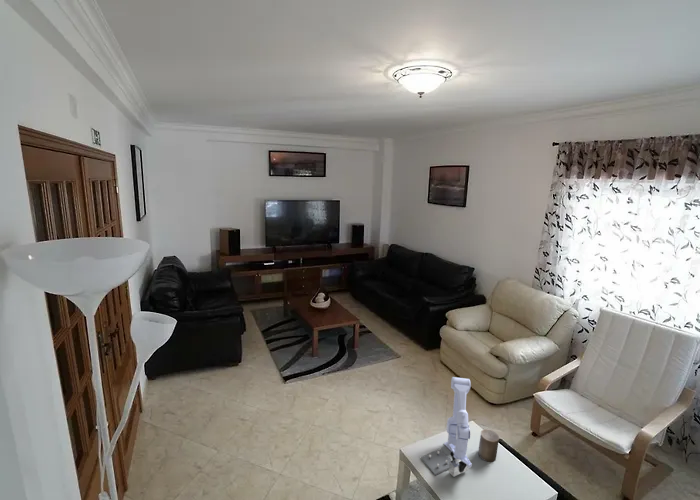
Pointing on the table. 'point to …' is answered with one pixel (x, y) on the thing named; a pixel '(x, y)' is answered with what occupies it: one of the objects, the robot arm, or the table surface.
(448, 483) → the table surface
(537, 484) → the table surface
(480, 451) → the pillar candle
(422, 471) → the table surface
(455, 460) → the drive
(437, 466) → the pin tray
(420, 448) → the table surface
